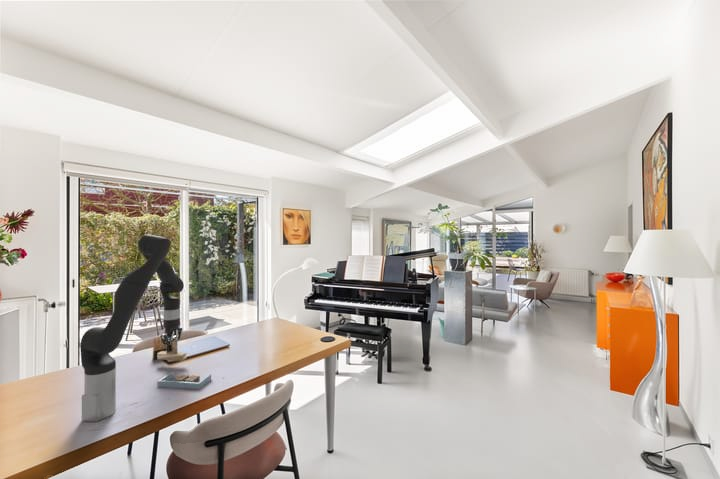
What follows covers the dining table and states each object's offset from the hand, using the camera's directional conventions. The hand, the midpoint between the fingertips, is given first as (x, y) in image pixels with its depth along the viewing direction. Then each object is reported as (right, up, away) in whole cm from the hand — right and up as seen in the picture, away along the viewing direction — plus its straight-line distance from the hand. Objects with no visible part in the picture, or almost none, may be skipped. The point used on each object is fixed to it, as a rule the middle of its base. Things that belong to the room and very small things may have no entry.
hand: (171, 350), depth 164 cm
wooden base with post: (0, -5, 0) cm, 5 cm away
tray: (+17, -9, -18) cm, 26 cm away
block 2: (+20, -9, -18) cm, 28 cm away
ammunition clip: (-11, -8, +11) cm, 18 cm away
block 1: (+15, -9, -17) cm, 24 cm away
